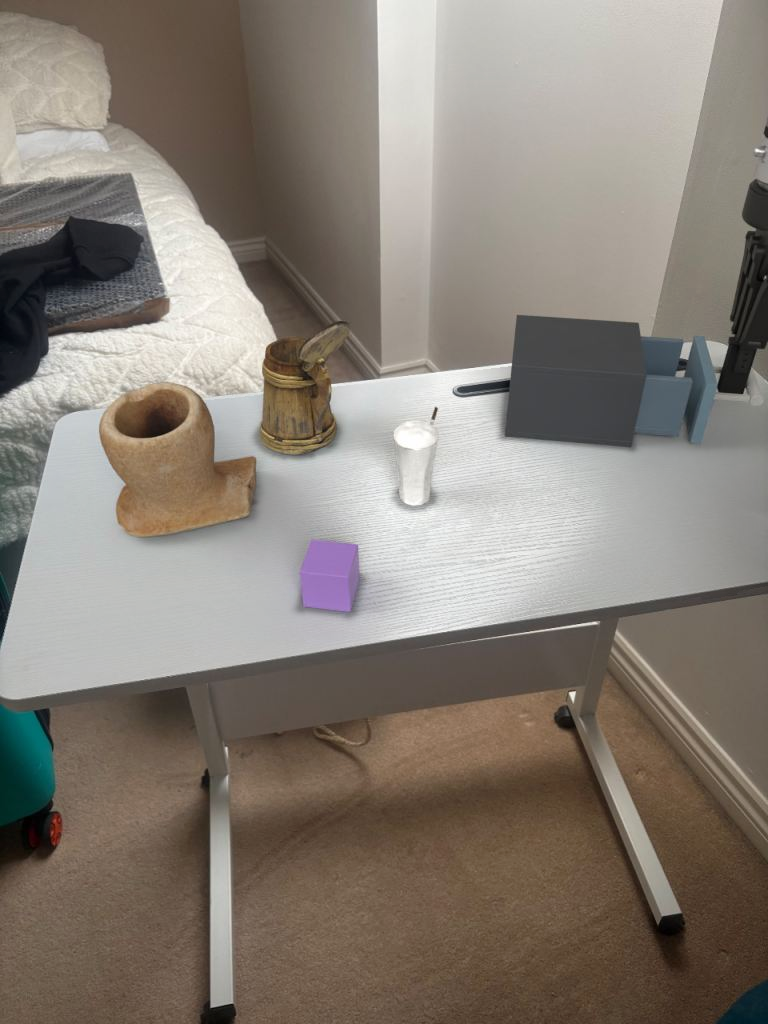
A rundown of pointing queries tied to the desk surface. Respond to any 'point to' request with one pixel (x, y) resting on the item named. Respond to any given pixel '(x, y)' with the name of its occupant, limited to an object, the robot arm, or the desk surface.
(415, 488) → the milkshake
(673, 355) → the drawer
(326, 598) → the cube
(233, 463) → the stone cup
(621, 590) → the desk surface
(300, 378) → the wooden mug
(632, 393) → the cabinet
